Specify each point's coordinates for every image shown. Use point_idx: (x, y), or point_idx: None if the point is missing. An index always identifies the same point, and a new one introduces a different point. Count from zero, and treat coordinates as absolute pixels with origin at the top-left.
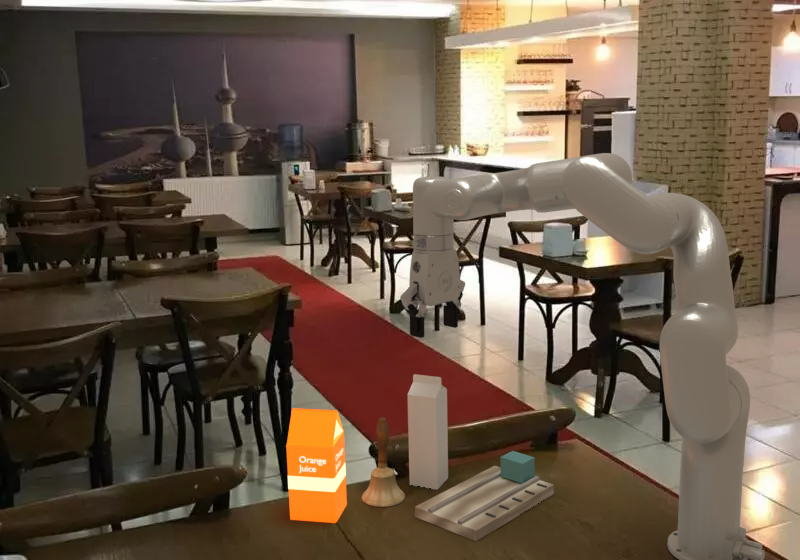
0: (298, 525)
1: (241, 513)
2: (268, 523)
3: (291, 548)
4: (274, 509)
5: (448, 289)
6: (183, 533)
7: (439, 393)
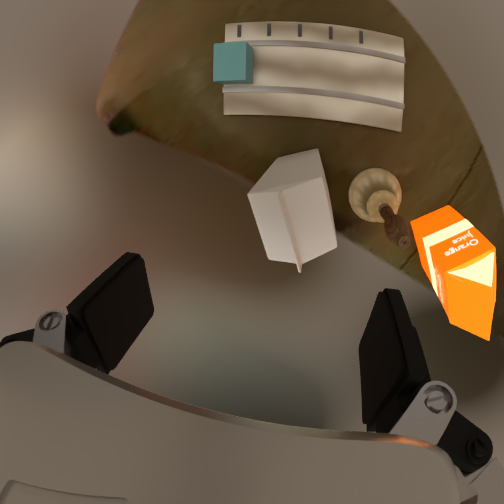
0: None
1: None
2: None
3: (496, 211)
4: None
5: (60, 488)
6: None
7: (294, 184)
